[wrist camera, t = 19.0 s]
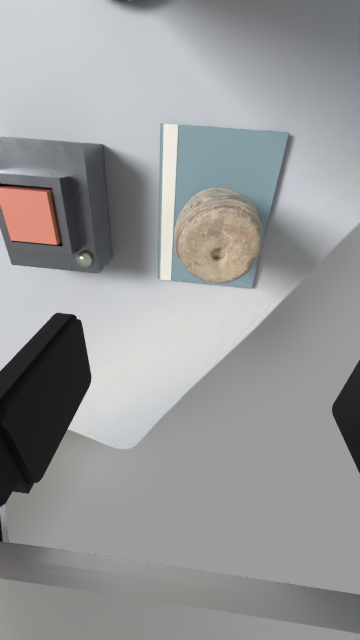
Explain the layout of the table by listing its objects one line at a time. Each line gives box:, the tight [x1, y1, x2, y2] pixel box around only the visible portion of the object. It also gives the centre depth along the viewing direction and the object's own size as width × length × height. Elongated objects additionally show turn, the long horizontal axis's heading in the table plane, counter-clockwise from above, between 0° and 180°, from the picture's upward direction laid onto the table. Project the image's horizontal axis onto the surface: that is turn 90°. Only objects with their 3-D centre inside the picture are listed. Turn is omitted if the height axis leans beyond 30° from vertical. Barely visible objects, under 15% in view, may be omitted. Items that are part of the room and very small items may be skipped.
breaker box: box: [0, 137, 112, 273], centre depth 27 cm, size 12×10×7 cm
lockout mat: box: [158, 124, 289, 288], centre depth 29 cm, size 16×12×1 cm
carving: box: [174, 187, 263, 284], centre depth 24 cm, size 6×8×12 cm
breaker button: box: [0, 185, 62, 245], centre depth 25 cm, size 5×5×2 cm
